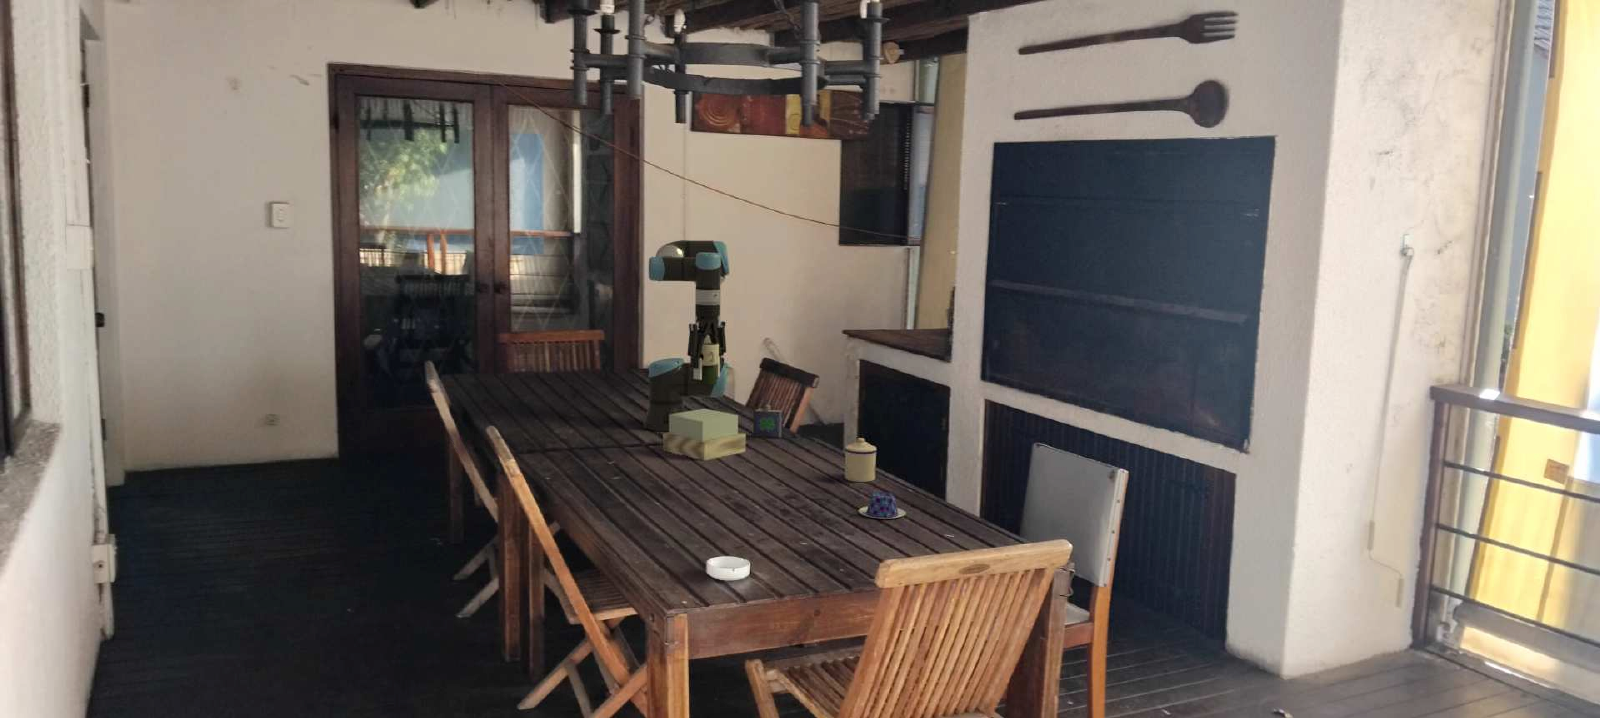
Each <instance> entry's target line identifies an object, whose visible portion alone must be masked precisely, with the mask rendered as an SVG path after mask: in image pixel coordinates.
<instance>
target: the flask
mask: <svg viewBox="0 0 1600 718" xmlns="http://www.w3.org/2000/svg"><path fill="white" fill-rule="evenodd" d="M782 414H783V413H782V410H780V409H779V410H778V409H774V410H773V409H771V405H769V404H767V405H766V404H765V407H764V408H762V409H761V408H760V407H759V408H758V409H754V411H753V437H754V438H762V439H763V438H768V439H769V438H772V439H773V438H775V439H776V438H777V439H778V438H779V439H780V438H782Z"/></svg>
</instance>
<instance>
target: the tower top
mask: <svg viewBox="0 0 1600 718" xmlns="http://www.w3.org/2000/svg"><path fill="white" fill-rule="evenodd" d="M668 433H669V434H673V435H677V436H682V437H686V438H691V439H695V440H699V441H706V440H711V439H717V438H722V437H727V436H732V435H737V434H738V433H739V415H738V414H733V413H727V412H723V411H718V410H712V409H709V408H701V409H696V410H695V409H694V410H687V411H685V412H682V413H676V414H670V415H669V431H668Z"/></svg>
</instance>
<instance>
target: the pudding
mask: <svg viewBox="0 0 1600 718" xmlns="http://www.w3.org/2000/svg"><path fill="white" fill-rule="evenodd" d="M858 513H859V514H861V515H862V516H865V517H868V518H874V519H881V520H882V519H883V520H889V519H898V518H901V517H904V516H905V515H906V514H907V511H905V510H904V509H901V508H899V507H898V506H897V502H896V496H894V495H893V494H892V493H889V492H881V491H880V492H875V493H872V494H871V496H870V499H869V502H868V506H864V507H861V508H860V509H858Z"/></svg>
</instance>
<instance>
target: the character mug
mask: <svg viewBox="0 0 1600 718" xmlns="http://www.w3.org/2000/svg"><path fill="white" fill-rule="evenodd" d="M696 354H697V353H696ZM700 358H702V379H701V380H699V379H697V383H698V385H708V387H709V386H710V385H711V384H717V378H716V370H715V367H714V365H717V364H718V363H719V344H713V343H704V344H703V345H702V351H701V355H700Z"/></svg>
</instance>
